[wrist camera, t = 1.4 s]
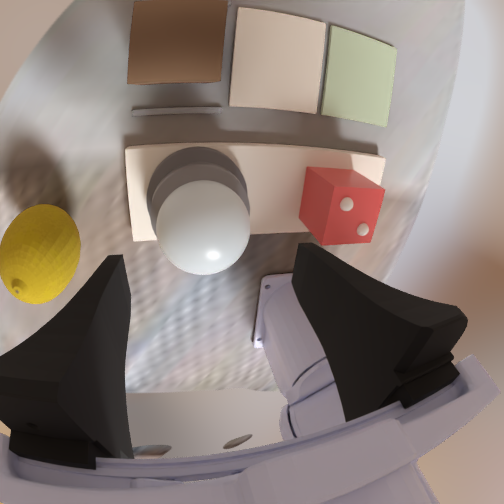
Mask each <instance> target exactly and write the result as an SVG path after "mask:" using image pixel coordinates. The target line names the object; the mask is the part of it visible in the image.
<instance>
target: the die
mask: <svg viewBox="0 0 504 504" xmlns="http://www.w3.org/2000/svg"><path fill="white" fill-rule="evenodd" d="M384 193H385V189H384V188H382V187H381V186H379V185H377V184H376V183H374V182H373V181H371V180H369V179H368V178H366V177H365V176H363V175H361V174H360V173H358V172H356V171H355V170H349V169H338V168H324V167H309V166H307V168H306V174H305V181H304V187H303V193H302V199H301V205H300V211H299V217H298V218H299V219H300V220H301V221H302V222H303V224H304V225H305V226H306V227H307V228H308V230H309V231H310V232H311V233H312V234H313V236H314V237H315V238H316V239H317V240H318V242H319V243H320V244H321V245H338V244H354V243H370V242H371V239H372V236H373V232H374V229H375V226H376V222H377V219H378V215H379V212H380V208H381V204H382V201H383V197H384Z"/></svg>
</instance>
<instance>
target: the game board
mask: <svg viewBox="0 0 504 504" xmlns="http://www.w3.org/2000/svg"><path fill="white" fill-rule="evenodd" d="M140 1H147V0H140ZM227 1H228V6H231V0H227ZM325 30H326V23H322V22H319V21H315V20H311V19H307V18H302V17H298V16H293V15H288V14H283V13H278V12H272V11H266V10H259V9H252V8H243V7H238V10H237V20H236V30H235V40H234V50H233V61H232V73H231V85H230V98H229V106H236V107H254V108H268V109H279V110H289V111H297V112H305V113H313V114H316V111H317V103H318V95H319V87H320V78H321V69H322V60H323V50H324V40H325ZM396 53H397V49H396V48H394V47H392V46H389V45H387V44H385V43H382V42H380V41H377V40H374V39H372V38H369V37H366V36H364V35H361V34H358V33H355V32H352V31H349V30H346V29H343V28H340V27H336V26H333V25H332V26H330V35H329V45H328V55H327V65H326V74H325V82H324V91H323V99H322V106H321V115H326V116H332V117H338V118H344V119H349V120H354V121H359V122H364V123H369V124H374V125H378V126H382V127H387V121H388V115H389V109H390V103H391V96H392V89H393V81H394V73H395V64H396ZM221 111H222V107H172V108H152V109H138V110H132V116H144V115H160V114H186V113H221ZM125 158H126V174H127V187H128V198H129V208H130V217H131V225H132V233H133V240H134V241H147V240H158V239H157V237H156V235H155V233H154V231H153V229H152V225H151V220H150V210H151V203H152V198H153V195H154V192H155V190H156V188H157V186H158V184H159V183H160V182H161V180H162V179H163V178H164V177H165V176H166V175H167V174H168V173H170V172H171V171H172V170H174V169H176V168H178V167H180V166H182V165H185V164H188V163H193V162H209V163H214V164H217V165H220V166H222V167H224V168H226V169H227V170H229V171H230V172H231V173H232V174H234V175H235V176H236V178H237V179H238V180H239V182H240V183H241V185H242V186H243V188H244V189H245V191H246V193H247V196H248V199H249V203H250V217H249V218H250V234H270V233H292V232H310V231H309V230H308V228H307V227H306V226H305V225H304V224H303V222H302V221H301V220H300V219H299V218H298V217H299V211H300V205H301V199H302V193H303V187H304V181H305V174H306V168H307V166H309V167H324V168H338V169H349V170H355V171H356V172H358V173H360V174H361V175H363V176H365V177H366V178H368V179H369V180H371V181H373V182H374V183H376V184H377V185H379V186H380V183H381V178H382V174H383V170H384V165H385V161H386V158H384V157H382V156H379V155H375V154H368V153H361V152H354V151H346V150H338V149H329V148H319V147H309V146H296V145H282V144H263V143H221V142H213V143H171V144H153V145H139V146H128V147H127V148H126V149H125Z"/></svg>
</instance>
